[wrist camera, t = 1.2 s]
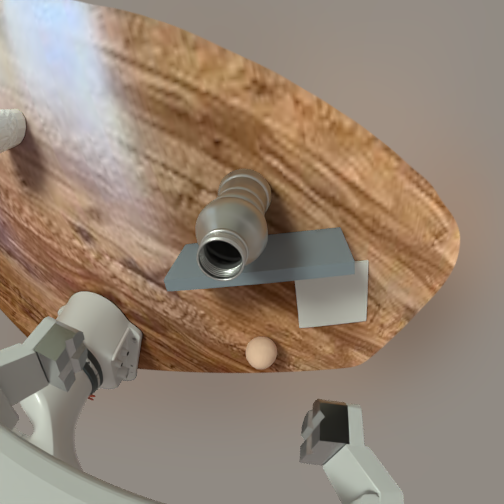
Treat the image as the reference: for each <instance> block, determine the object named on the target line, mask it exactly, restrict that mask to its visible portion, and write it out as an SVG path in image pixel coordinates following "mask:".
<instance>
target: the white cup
mask: <svg viewBox="0 0 504 504" xmlns="http://www.w3.org/2000/svg"><path fill="white" fill-rule="evenodd" d="M25 131H26V122H25V117H24V115H23V113H22V112H21V111H20V110H18V109H7V110H5V109H1V110H0V153H2V152H4V151H6V150H8V149H10V148H13V147H16V146H17V145H18V144H20V143H21V142H22V140H23V138H24V136H25Z"/></svg>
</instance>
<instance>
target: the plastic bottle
mask: <svg viewBox="0 0 504 504" xmlns="http://www.w3.org/2000/svg"><path fill="white" fill-rule="evenodd" d="M271 199H272V193H271V189H270V186H269V184H268V182H267V181H266V179H265V178H264V177H263V176H262V175H261V174H260V173H258V172H256V171H254V170H251V169H238V170H235V171H232V172H230V173H229V174H227V175H226V176H225V177H224V178H223V179H222V181H221V183H220V185H219V190H218V197H217V198H216V199H215V200H213V201H212V202H210V203H209V204H208V205H207V206H206V207H205V208H204V209H203V210H202V211H201V213H200V214H199V216H198V219H197V222H196V238H197V242H198V245H199V248H198V250H197V256H196V257H197V263H198V266H199V268H200V269H201V271H202V272H203V273H204V274H205V275H207V276H208V277H210V278H212V279H214V280H217V281H229V280H233V279H235V278H236V277H238V276H239V275H240V274H241V272H242V271H243V269H244V266H245V265H248V264H250V263H252V262H253V261H254V260H256V259H257V258H258V257H259V255H260V254H261V253H262V252H263V250H264V249H265V247H266V244H267V241H268V229H267V223H266V220H265V213H266V211H267V209H268V208H269V206H270V203H271Z"/></svg>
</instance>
